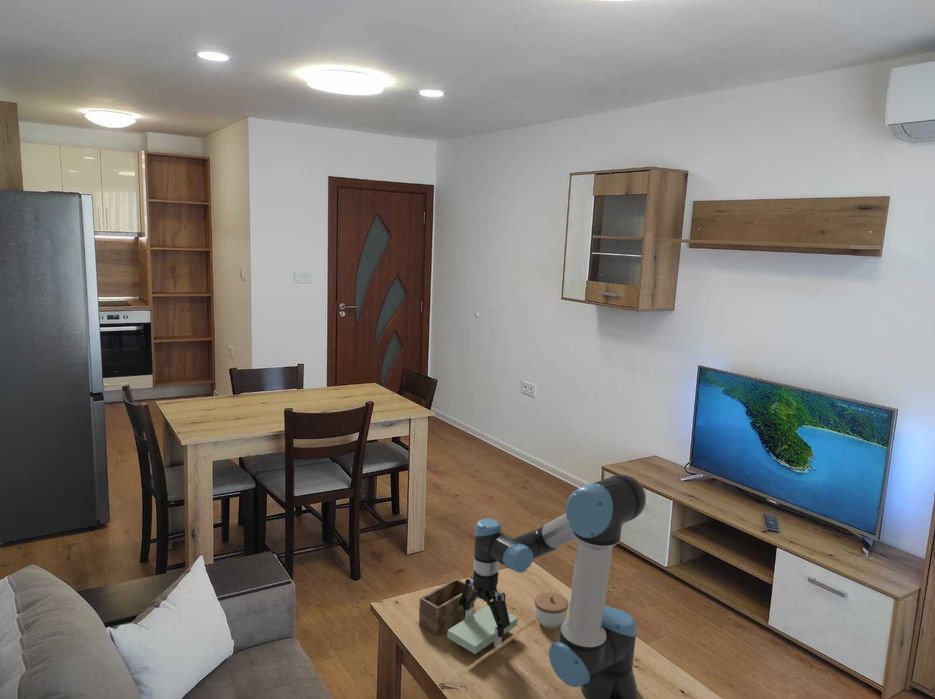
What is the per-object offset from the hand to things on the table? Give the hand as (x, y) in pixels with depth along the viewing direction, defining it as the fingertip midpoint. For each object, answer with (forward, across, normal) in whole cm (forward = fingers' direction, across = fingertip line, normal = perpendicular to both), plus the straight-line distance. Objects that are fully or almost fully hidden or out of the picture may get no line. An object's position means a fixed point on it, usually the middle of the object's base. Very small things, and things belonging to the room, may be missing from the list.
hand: (482, 636), depth 204 cm
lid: (-2, 0, 0) cm, 2 cm away
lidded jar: (+2, -9, -23) cm, 25 cm away
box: (+2, +15, 0) cm, 15 cm away
